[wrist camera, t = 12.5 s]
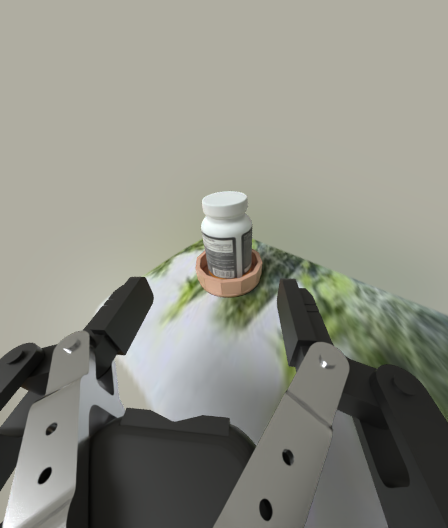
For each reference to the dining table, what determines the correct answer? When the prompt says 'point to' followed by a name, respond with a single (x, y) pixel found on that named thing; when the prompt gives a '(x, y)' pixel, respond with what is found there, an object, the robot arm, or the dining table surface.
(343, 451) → the dining table surface
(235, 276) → the pill bottle
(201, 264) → the bowl
